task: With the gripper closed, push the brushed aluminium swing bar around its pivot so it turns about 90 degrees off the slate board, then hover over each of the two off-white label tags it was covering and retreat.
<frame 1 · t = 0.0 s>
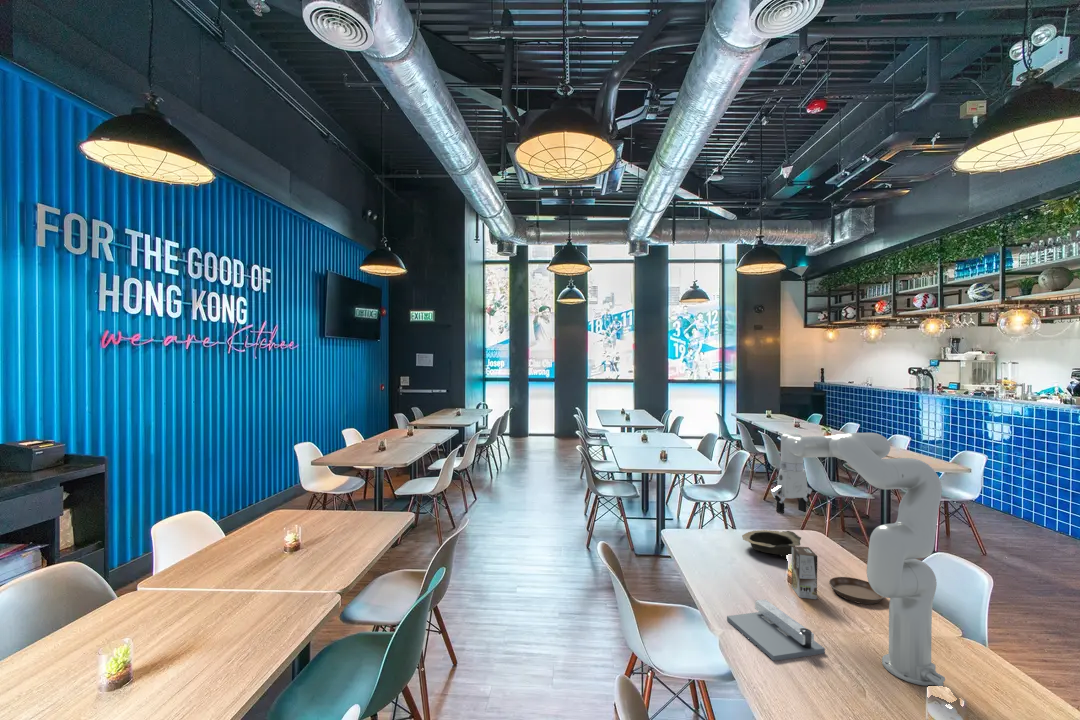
hand: (791, 511, 176), 31 cm above the table, tool pointing down, fingers open, 9 cm apart
plant saucer: (856, 595, 177), on the table
label board: (773, 635, 149), on the table
stone bowl: (770, 553, 216), on the table
swing bar: (783, 621, 150), point 4 cm above the table, hinge at 0.0°
coffee box: (803, 593, 177), on the table
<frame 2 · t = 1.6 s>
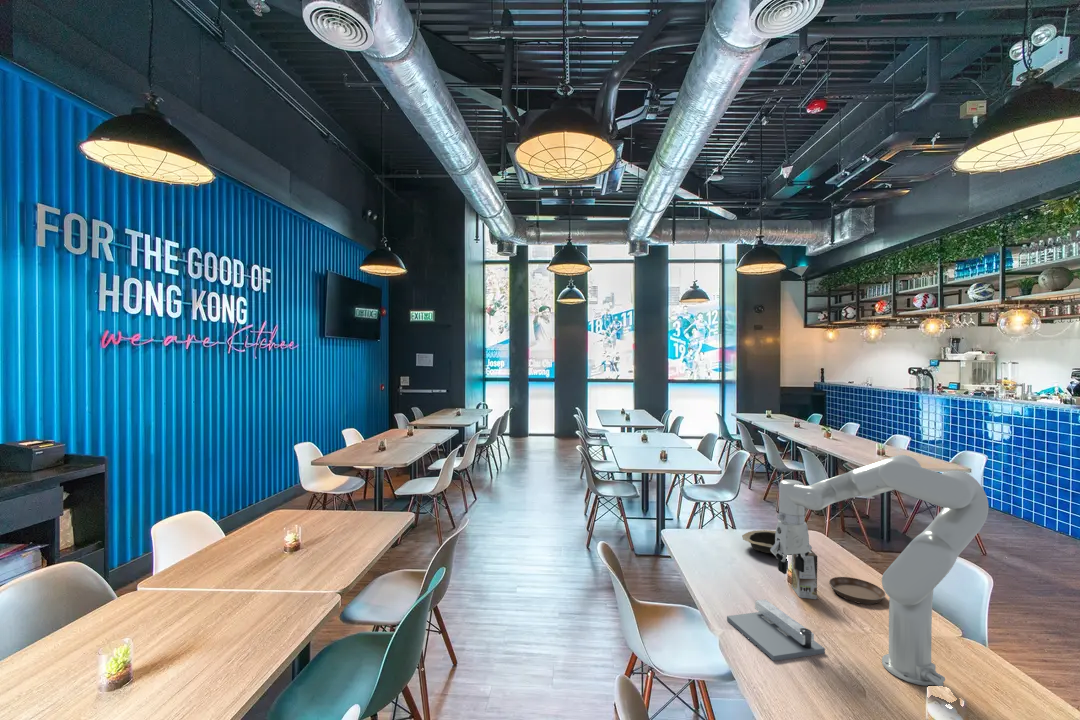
hand: (791, 570, 156), 18 cm above the table, tool pointing down, fingers open, 6 cm apart
nothing on the table moved.
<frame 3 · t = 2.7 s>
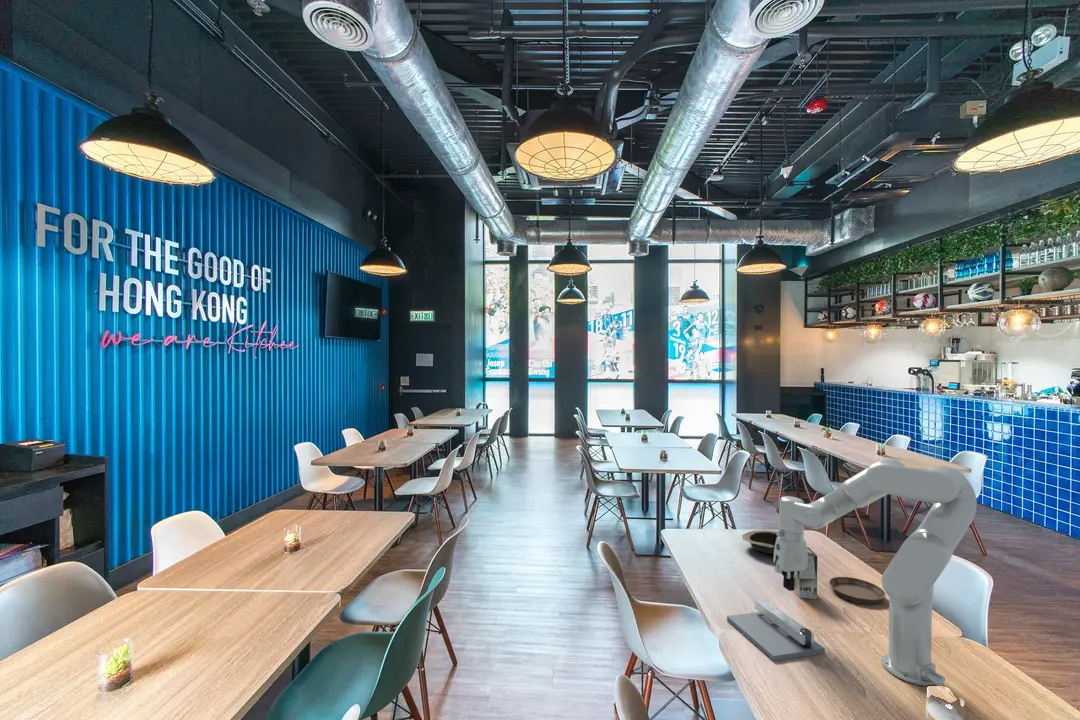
hand: (788, 588, 157), 11 cm above the table, tool pointing down, fingers closed
nothing on the table moved.
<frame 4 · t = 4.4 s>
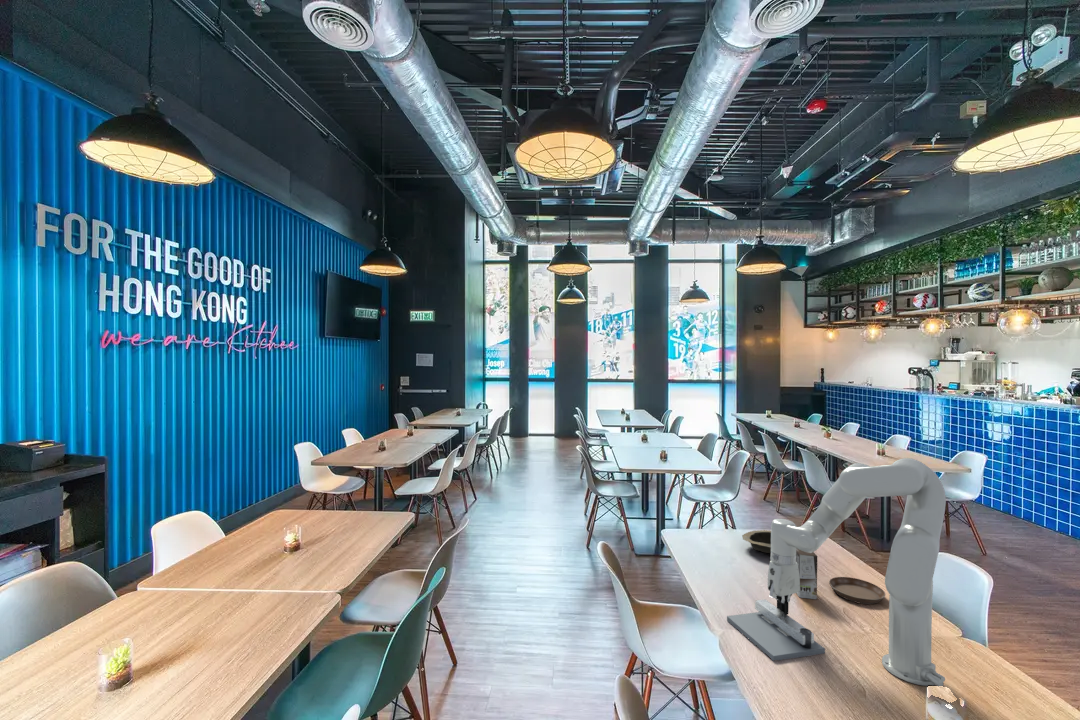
hand: (782, 612, 155), 4 cm above the table, tool pointing down, fingers closed
swing bar: (783, 621, 150), point 4 cm above the table, hinge at 0.0°, touching gripper
everything else where it was.
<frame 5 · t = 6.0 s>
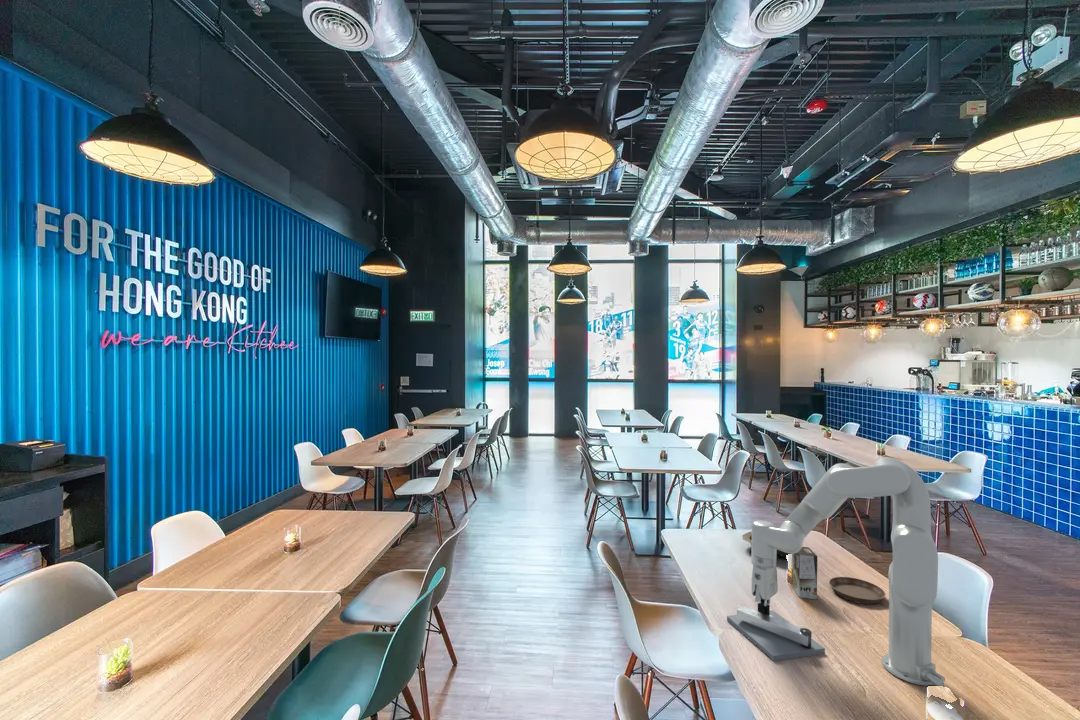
hand: (763, 615, 153), 4 cm above the table, tool pointing down, fingers closed
swing bar: (773, 625, 148), point 4 cm above the table, hinge at 31.3°, touching gripper
everything else where it was.
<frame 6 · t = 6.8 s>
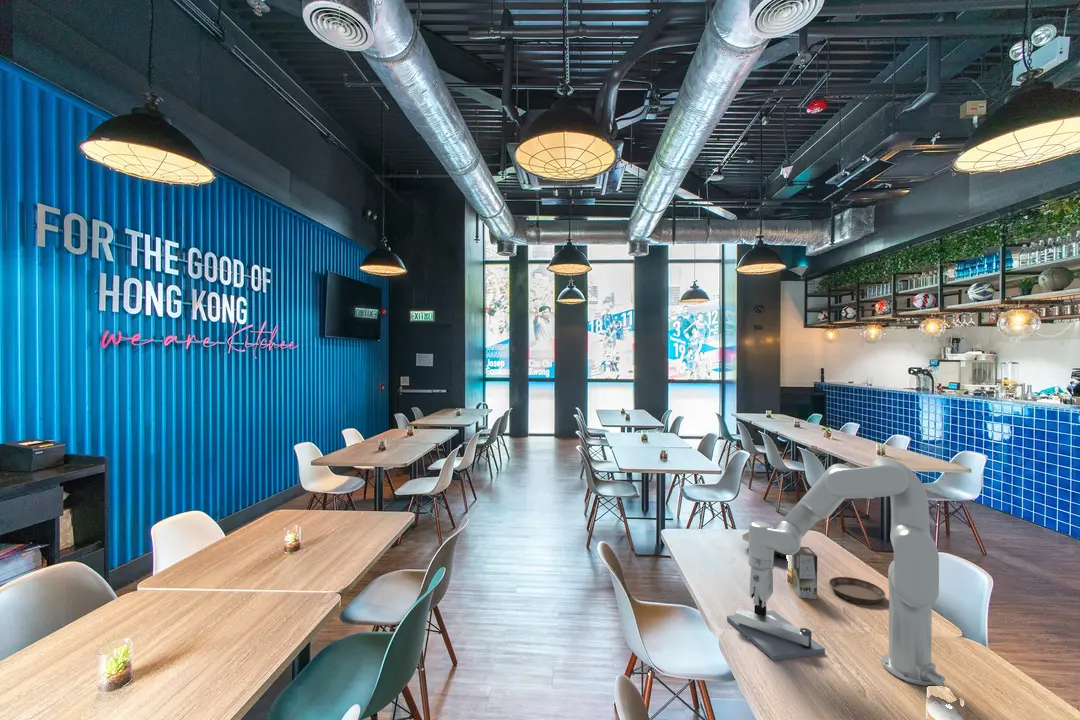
hand: (760, 617, 152), 4 cm above the table, tool pointing down, fingers closed
swing bar: (772, 627, 147), point 4 cm above the table, hinge at 38.3°, touching gripper
everything else where it was.
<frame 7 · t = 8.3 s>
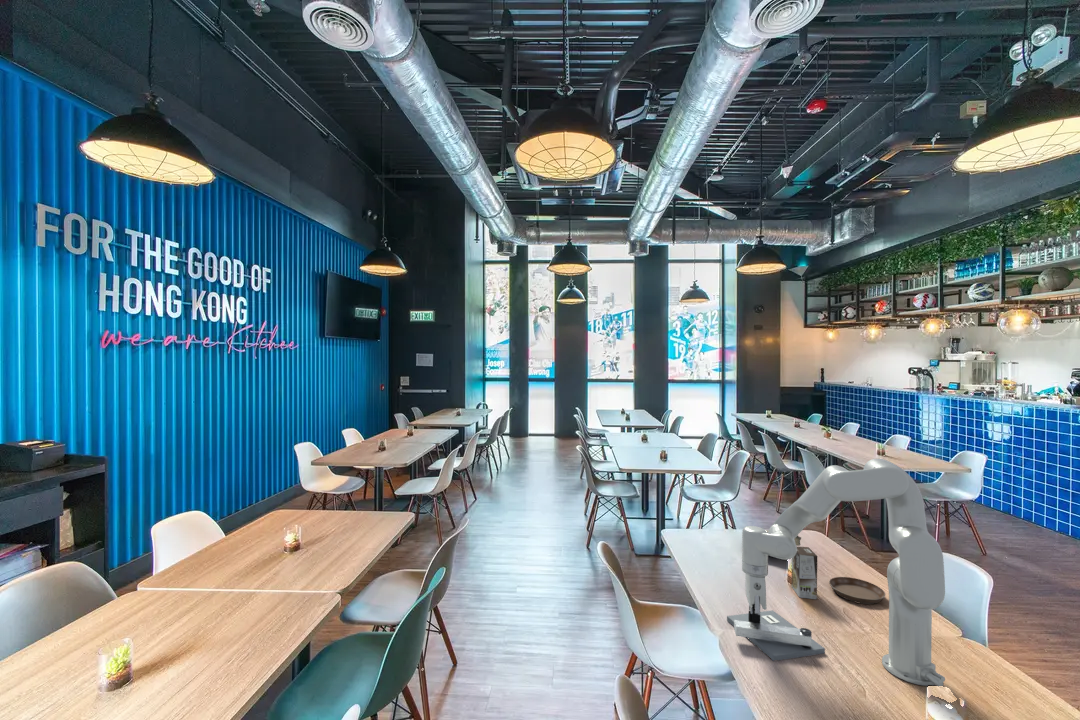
hand: (754, 625, 148), 4 cm above the table, tool pointing down, fingers closed
swing bar: (772, 633, 143), point 4 cm above the table, hinge at 63.3°, touching gripper
everything else where it was.
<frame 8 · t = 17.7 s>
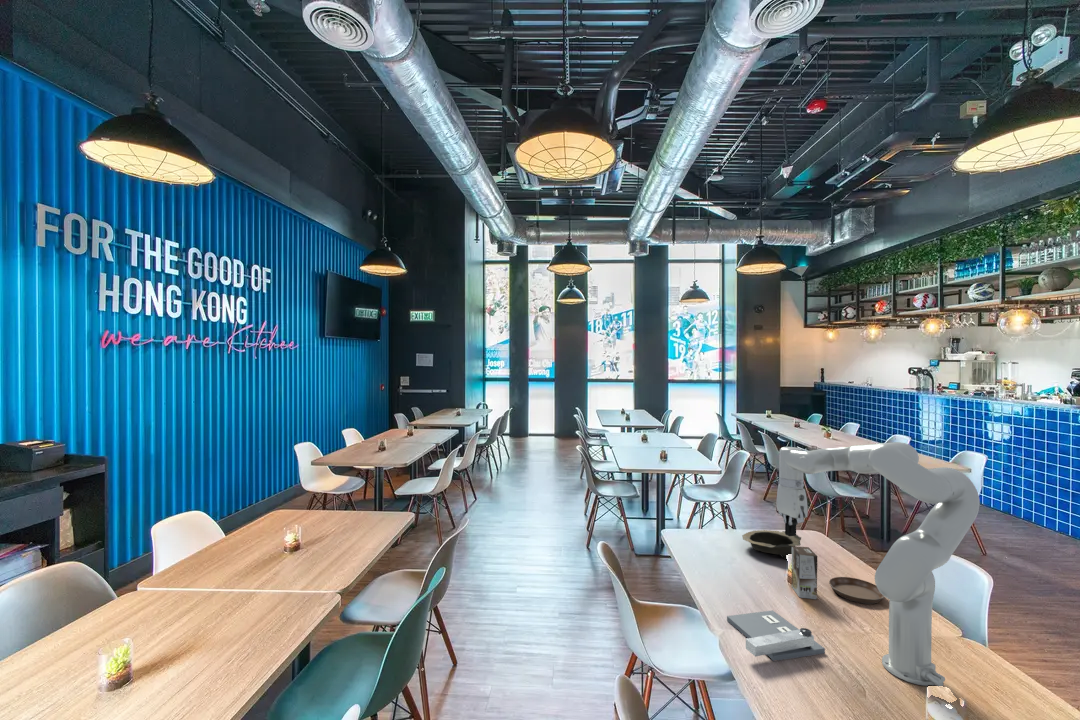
hand: (790, 535, 163), 27 cm above the table, tool pointing down, fingers closed
swing bar: (780, 642, 138), point 4 cm above the table, hinge at 92.8°
everything else where it was.
at the end: swing bar at +93° (first picture: +0°); the gripper is holding nothing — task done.
